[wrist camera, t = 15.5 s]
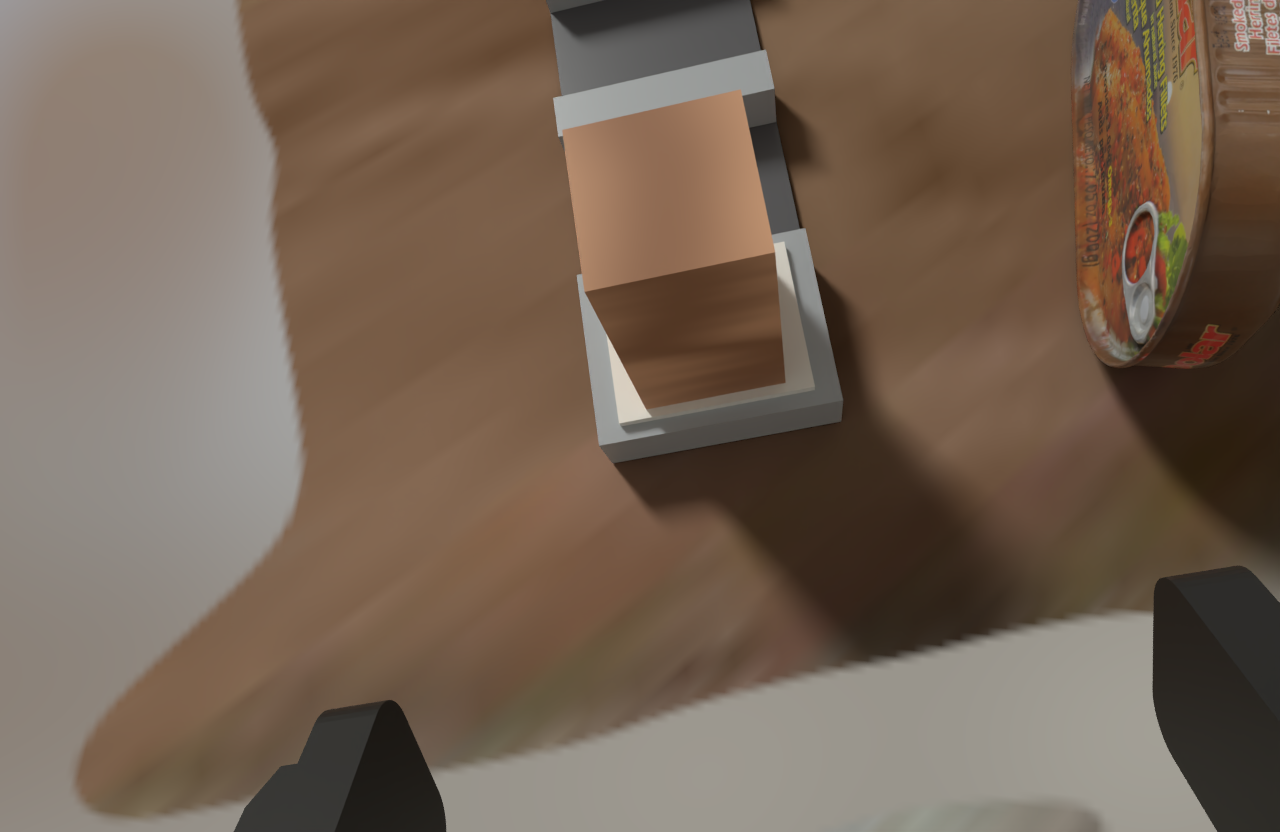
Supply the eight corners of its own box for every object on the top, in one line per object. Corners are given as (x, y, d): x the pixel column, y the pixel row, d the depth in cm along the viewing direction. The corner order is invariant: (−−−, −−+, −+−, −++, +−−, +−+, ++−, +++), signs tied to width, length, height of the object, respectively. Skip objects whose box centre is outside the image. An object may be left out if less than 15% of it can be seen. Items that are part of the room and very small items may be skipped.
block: (760, 256, 29) (740, 89, 21) (785, 382, 27) (775, 252, 20) (626, 284, 29) (562, 129, 22) (646, 409, 28) (584, 291, 20)
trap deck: (717, -146, 36) (711, -201, 34) (841, 421, 29) (843, 397, 27) (536, -100, 37) (519, -151, 35) (612, 463, 30) (597, 442, 28)
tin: (1067, -21, 33) (1150, -262, 25) (1170, -24, 32) (1288, -273, 24) (1077, 410, 28) (1181, 285, 20) (1196, 416, 28) (1351, 290, 20)
